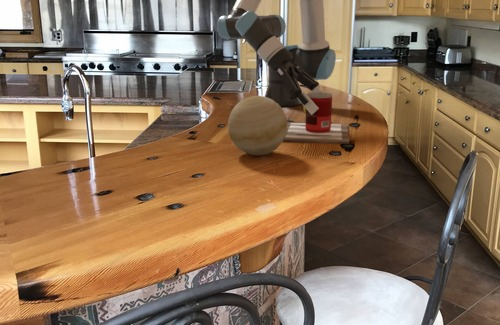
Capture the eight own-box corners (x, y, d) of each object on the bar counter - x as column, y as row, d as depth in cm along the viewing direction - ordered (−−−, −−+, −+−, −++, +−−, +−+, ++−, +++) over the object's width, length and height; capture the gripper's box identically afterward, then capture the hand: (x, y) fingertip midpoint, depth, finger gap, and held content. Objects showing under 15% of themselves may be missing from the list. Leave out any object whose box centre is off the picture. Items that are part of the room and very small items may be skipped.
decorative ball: (298, 156, 132) (300, 97, 128) (248, 165, 124) (248, 102, 120) (265, 144, 144) (266, 90, 140) (217, 152, 136) (216, 94, 132)
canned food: (332, 128, 161) (334, 93, 158) (327, 133, 154) (329, 96, 151) (308, 127, 164) (309, 91, 161) (302, 131, 156) (303, 95, 154)
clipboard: (285, 123, 173) (285, 119, 172) (347, 125, 170) (347, 121, 170) (277, 141, 148) (277, 136, 148) (349, 143, 145) (349, 138, 145)
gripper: (281, 60, 171) (324, 109, 169) (251, 67, 149) (299, 123, 147) (297, 44, 167) (341, 94, 166) (268, 49, 145) (318, 106, 144)
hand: (321, 108), depth 156 cm, fingers open, 13 cm apart
